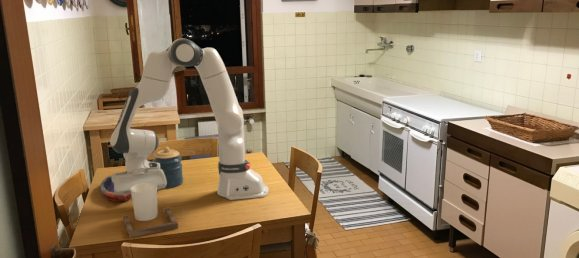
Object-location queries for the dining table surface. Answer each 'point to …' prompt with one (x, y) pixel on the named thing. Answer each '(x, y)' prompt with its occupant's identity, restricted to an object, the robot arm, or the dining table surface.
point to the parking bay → (153, 229)
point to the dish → (112, 191)
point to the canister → (170, 166)
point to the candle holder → (144, 201)
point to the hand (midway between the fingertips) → (143, 200)
